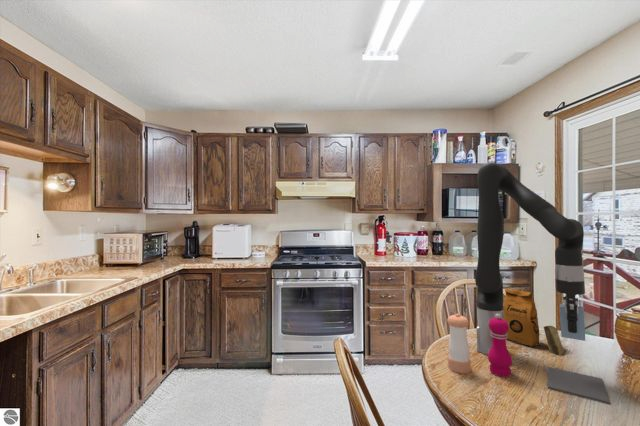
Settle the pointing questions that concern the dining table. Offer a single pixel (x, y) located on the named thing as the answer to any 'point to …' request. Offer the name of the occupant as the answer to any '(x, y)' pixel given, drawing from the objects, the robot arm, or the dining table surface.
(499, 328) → the pepper mill
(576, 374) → the mat
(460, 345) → the pepper shaker
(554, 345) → the rock
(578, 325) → the block
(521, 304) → the coffee package
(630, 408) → the dining table surface
